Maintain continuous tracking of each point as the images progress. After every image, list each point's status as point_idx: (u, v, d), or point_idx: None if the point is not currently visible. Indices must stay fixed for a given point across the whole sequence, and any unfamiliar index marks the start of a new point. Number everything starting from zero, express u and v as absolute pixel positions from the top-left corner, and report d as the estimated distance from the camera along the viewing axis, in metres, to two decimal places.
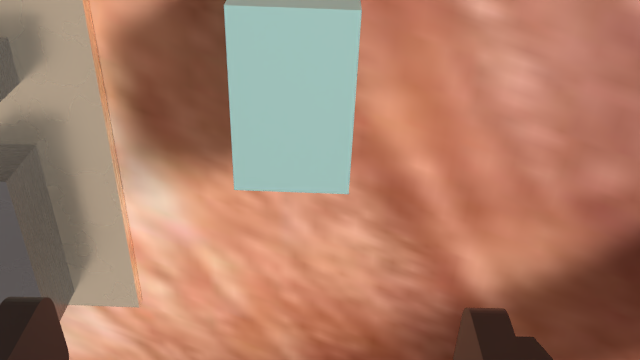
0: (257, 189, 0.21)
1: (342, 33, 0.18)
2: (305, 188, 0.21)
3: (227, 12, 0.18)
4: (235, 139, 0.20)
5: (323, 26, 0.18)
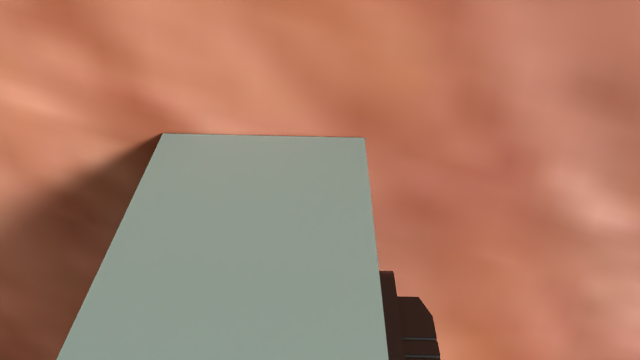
0: None
1: None
2: None
3: None
4: None
5: None
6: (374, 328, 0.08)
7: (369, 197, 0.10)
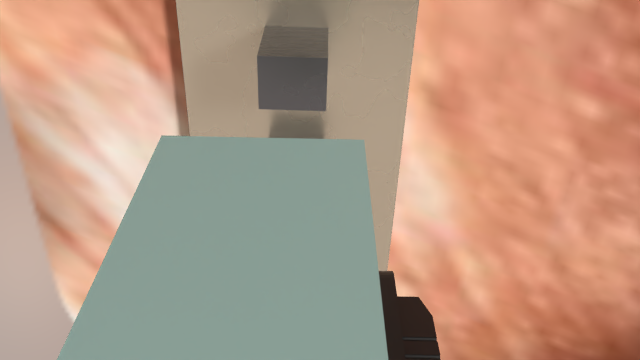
0: None
1: None
2: None
3: None
4: None
5: None
6: (374, 332, 0.08)
7: (369, 199, 0.10)
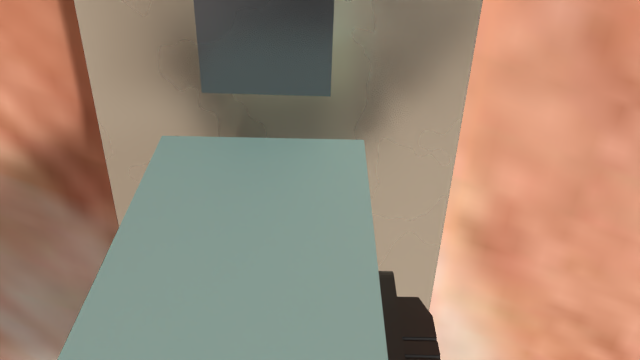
0: None
1: None
2: None
3: None
4: None
5: None
6: (374, 332, 0.08)
7: (369, 199, 0.10)
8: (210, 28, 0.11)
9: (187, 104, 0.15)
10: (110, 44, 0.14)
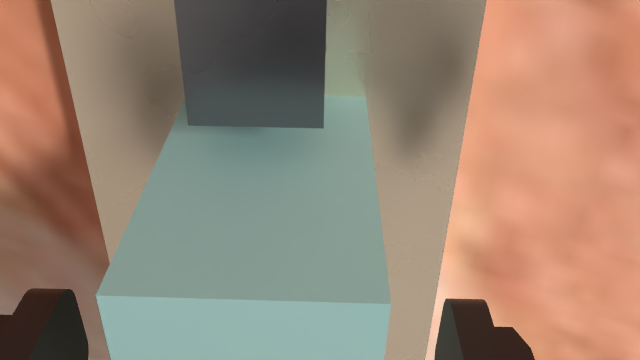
0: None
1: (349, 339, 0.09)
2: None
3: (104, 307, 0.08)
4: None
5: (310, 329, 0.08)
6: (373, 235, 0.09)
7: (369, 142, 0.12)
8: (195, 59, 0.10)
9: None
10: (95, 69, 0.13)
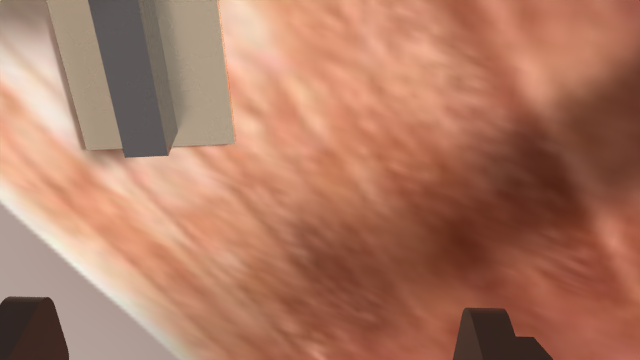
0: None
1: None
2: None
3: None
4: None
5: None
6: None
7: None
8: None
9: None
10: None
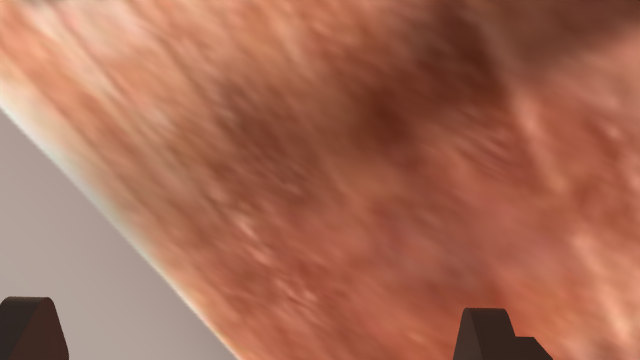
0: None
1: None
2: None
3: None
4: None
5: None
6: None
7: None
8: None
9: None
10: None
